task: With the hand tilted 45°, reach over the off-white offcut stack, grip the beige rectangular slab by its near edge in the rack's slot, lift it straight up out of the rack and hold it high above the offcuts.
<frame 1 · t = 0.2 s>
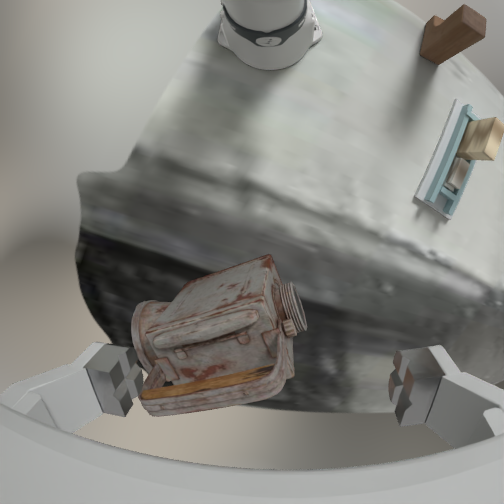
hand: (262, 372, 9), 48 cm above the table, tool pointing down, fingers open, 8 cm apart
wooden block: (432, 43, 43), on the table
lantern: (231, 302, 61), on the table
rack: (461, 141, 48), on the table
offcut stack: (450, 173, 49), point 1 cm above the table, touching rack
beige rectangular slab: (463, 140, 47), point 1 cm above the table, touching rack
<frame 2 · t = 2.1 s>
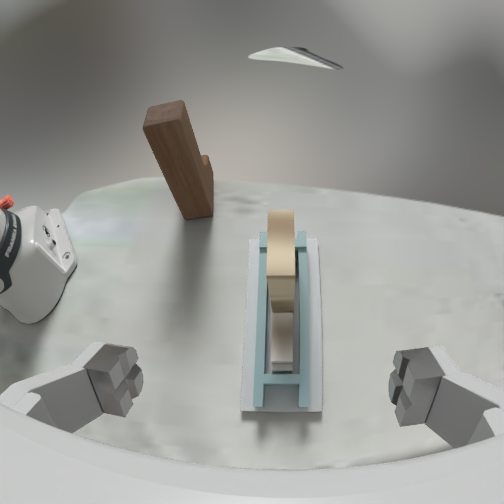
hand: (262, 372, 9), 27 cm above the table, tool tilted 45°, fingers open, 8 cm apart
wooden block: (199, 196, 49), on the table
rack: (283, 290, 40), on the table
offcut stack: (282, 347, 35), point 1 cm above the table, touching rack
beige rectangular slab: (283, 287, 39), point 1 cm above the table, touching rack
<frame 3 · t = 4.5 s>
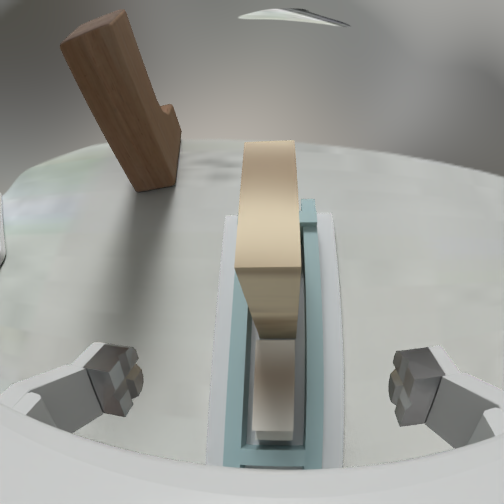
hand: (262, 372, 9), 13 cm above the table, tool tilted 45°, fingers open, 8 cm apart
wooden block: (160, 161, 33), on the table
rack: (278, 296, 24), on the table
offcut stack: (276, 394, 19), point 1 cm above the table, touching rack
beige rectangular slab: (278, 291, 23), point 1 cm above the table, touching rack
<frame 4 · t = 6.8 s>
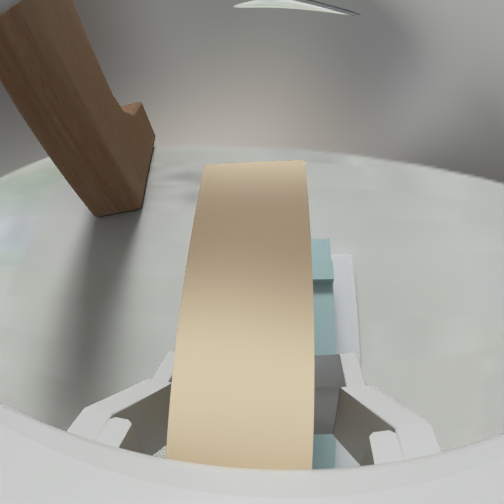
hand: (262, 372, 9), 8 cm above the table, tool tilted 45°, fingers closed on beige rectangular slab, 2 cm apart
wooden block: (127, 175, 26), on the table
rack: (274, 376, 16), on the table
beige rectangular slab: (274, 374, 15), point 1 cm above the table, touching gripper, rack
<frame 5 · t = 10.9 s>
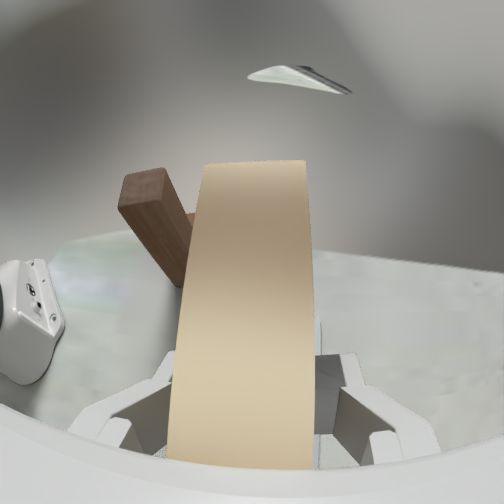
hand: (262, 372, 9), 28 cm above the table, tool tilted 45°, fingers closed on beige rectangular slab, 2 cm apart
wooden block: (191, 258, 45), on the table
rack: (281, 374, 35), on the table
beige rectangular slab: (273, 374, 15), point 21 cm above the table, touching gripper
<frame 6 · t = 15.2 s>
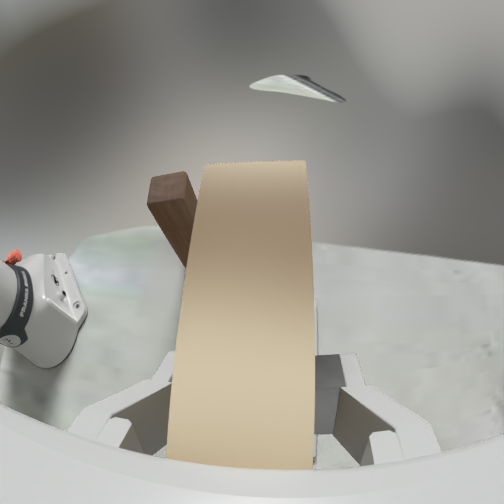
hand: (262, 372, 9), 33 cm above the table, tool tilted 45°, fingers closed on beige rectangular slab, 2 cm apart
wooden block: (203, 250, 51), on the table
beige rectangular slab: (273, 374, 15), point 26 cm above the table, touching gripper
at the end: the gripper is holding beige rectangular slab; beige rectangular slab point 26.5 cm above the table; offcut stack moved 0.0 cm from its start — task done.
